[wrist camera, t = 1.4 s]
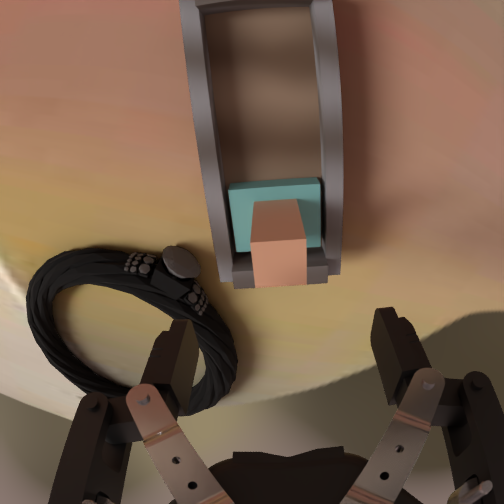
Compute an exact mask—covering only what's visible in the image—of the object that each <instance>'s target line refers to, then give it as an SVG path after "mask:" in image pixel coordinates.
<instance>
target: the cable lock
mask: <svg viewBox="0 0 504 504" xmlns="http://www.w3.org/2000/svg"><path fill="white" fill-rule="evenodd" d="M145 254H146V253H140V254H139V253H133V254H131V255H129V254H127V253H125V252H122V251H114V250H107V249H99V248H86V249H82V250H78V251H64V252H62V253H60V254H58V255H56V256H54V257H52V258H50V259H49V260H47V261H46V262H45V263H44V264H43V265H42V266H41V267H40V268H39V269H38V270H37V271H36V273H35V275H34V276H33V278H32V279H31V281H30V282H29V287H28V291H27V295H26V307H27V317H28V323H29V326H30V328H31V331H32V333H33V336H34V338H35V341H36V343H37V344H38V345H39V347H40V348H41V350H42V351H43V353H44V354H45V356H46V358H47V359H48V361H49V362H50V364H51V365H53V366H54V367H55V368H56V369H57V370H58V371H59V372H60V373H62V374H63V375H64V376H65V377H66V378H67V379H68V380H69V381H71V382H72V383H73V384H74V385H76V386H77V387H78V388H80V389H81V390H82V391H83V392H85V393H86V394H89V393H92V392H100V393H102V394H104V395H105V396H106V397H107V399H110V398H116V397H122V396H126V395H127V394H128V392H129V391H130V390H131V389H127V388H123V387H120V386H118V385H116V384H114V383H112V382H111V381H108V380H106V379H104V378H102V377H100V376H98V375H96V374H95V373H94V372H93V371H92V370H90V369H89V368H88V367H87V366H85V365H84V364H83V363H81V362H80V361H79V360H78V359H77V358H75V357H74V356H73V354H72V353H71V352H70V351H69V349H68V348H67V346H66V345H65V344H64V342H63V341H62V339H61V338H60V337H59V335H58V334H57V332H56V330H55V325H54V320H53V316H52V301H53V299H54V297H55V296H56V294H57V293H59V292H60V291H61V290H63V289H65V288H68V287H72V286H75V285H81V284H93V285H99V286H104V287H109V288H112V289H116V290H119V291H123V292H126V293H130V294H133V295H134V296H136V297H138V298H140V299H142V300H143V301H145V302H147V303H149V304H151V305H153V306H155V307H156V308H158V309H160V310H161V311H163V312H164V313H166V314H167V315H169V316H170V317H172V318H173V319H174V320H181V319H190V320H191V321H192V324H193V328H194V331H195V334H196V338H197V341H198V345H199V348H200V349H201V351H202V352H203V355H204V360H205V365H206V371H205V375H204V377H203V378H202V379H201V381H200V382H199V383H198V384H197V385H195V386H194V387H192V390H191V395H190V400H189V405H188V409H187V414H186V416H190V415H193V414H195V413H198V412H200V411H202V410H204V409H208V408H210V407H213V406H215V405H216V404H217V403H218V401H219V400H220V399H221V398H222V397H223V396H225V395H226V394H228V393H229V391H230V388H231V385H232V383H233V382H234V381H235V379H236V371H237V363H238V359H237V355H236V350H235V347H234V341H233V338H232V336H231V333H230V330H229V329H228V327H227V326H226V324H225V323H224V321H223V320H222V318H221V317H220V315H219V314H218V313H217V311H216V310H215V309H214V308H213V306H212V305H211V304H210V303H209V302H208V298H207V295H206V294H205V293H204V290H203V289H202V288H201V287H200V285H199V283H198V282H197V281H196V280H194V277H198V275H199V274H200V273H201V268H200V264H199V263H198V261H197V260H196V258H195V257H194V256H193V255H192V254H191V253H190V252H189V251H187V250H185V249H183V248H180V247H177V246H167V247H166V248H165V249H164V250H163V255H162V256H161V258H160V260H159V262H158V264H157V265H155V264H154V263H155V261H156V258H157V257H156V256H155V255H151V254H147V255H145ZM199 287H200V288H199ZM178 416H180V415H178Z"/></svg>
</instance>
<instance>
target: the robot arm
mask: <svg viewBox="0 0 504 504" xmlns="http://www.w3.org/2000/svg"><path fill="white" fill-rule="evenodd" d="M370 338H371V347H372V350H373V353H374V357H375V360H376V363H377V367H378V370H379V373H380V376H381V380H382V384H383V387H384V391H385V394H386V398H387V402H388V405H394V404H397V408H398V410H397V412H396V413H395V415H394V417H393V419H392V421H391V423H390V425H389V426H388V428H387V430H386V432H385V434H384V436H383V437H382V439H381V441H380V443H379V444H378V446H377V448H376V450H375V451H374V453H373V455H372V456H371V458H370V460H367V459H365V458H363V457H361V456H359V455H355V454H351V453H345V452H344V448H343V446H339V447H331V448H321V449H315V450H312V451H309V452H305V453H302V454H298V455H295V456H291V457H284V456H279V455H273V454H268V453H263V452H233V458H231V459H227V460H224V461H221V462H219V463H216V464H215V465H213V466H211V467H210V468H207V467H206V465H205V464H204V462H203V461H202V459H201V458H200V457H199V455H198V454H197V452H196V451H195V449H194V448H193V446H192V445H191V444H190V442H189V441H188V439H187V437H186V436H185V435H184V433H183V431H182V430H181V428H180V426H179V425H178V424H177V418H178V415H180V416H186V414H187V409H188V405H189V400H190V395H191V390H192V385H193V380H194V376H195V371H196V366H197V362H198V357H199V345H198V341H197V338H196V334H195V331H194V328H193V324H192V321H191V320H190V319H181V320H173V321H172V324H171V327H170V330H169V331H162V333H161V334H160V335H159V336H158V337H157V338H156V340H155V342H154V345H153V348H152V351H151V353H150V357H149V359H148V362H147V365H146V367H145V370H144V373H143V376H142V379H141V382H140V384H139V385H137V386H135V387H133V388H132V389H131V390H130V391H129V392H128V394H127V395H126V396H122V397H116V398H110V399H107V397H106V396H105V395H104V394H102V393H100V392H92V393H89V394H87V395H85V396H84V397H83V398H82V399H81V401H80V403H79V406H78V408H77V411H76V414H75V417H74V420H73V422H72V425H71V428H70V432H69V434H68V437H67V440H66V443H65V446H64V450H63V453H62V456H61V459H60V463H59V466H58V469H57V472H56V476H55V479H54V483H53V487H52V490H51V494H50V498H49V502H48V504H120V503H121V497H122V492H123V487H124V481H125V476H126V471H127V466H128V461H129V456H130V451H131V446H132V442H136V441H141V440H144V441H143V443H144V445H145V448H146V449H147V451H148V453H149V455H150V457H151V459H152V461H153V462H154V464H155V466H156V468H157V470H158V471H159V473H160V475H161V477H162V478H163V480H164V482H165V484H166V485H167V487H168V489H169V490H170V492H171V494H172V495H173V497H174V498H175V499H174V500H172V501H171V502H170V503H169V504H423V503H421V502H420V501H418V499H416V498H415V497H414V496H412V495H411V494H410V493H408V492H407V491H406V490H405V489H403V488H402V487H403V486H404V484H405V482H406V480H407V478H408V476H409V474H410V472H411V470H412V468H413V466H414V464H415V462H416V460H417V458H418V456H419V454H420V452H421V450H422V447H423V445H424V443H425V441H426V439H427V436H428V434H429V431H430V428H431V426H441V427H442V431H443V435H444V439H445V443H446V448H447V452H448V456H449V461H450V466H451V471H452V476H453V481H454V486H455V491H454V492H453V493H452V494H451V495H450V496H449V498H448V501H447V504H504V414H503V411H502V408H501V406H500V403H499V400H498V398H497V396H496V393H495V391H494V388H493V386H492V384H491V381H490V379H489V378H488V377H487V376H486V375H485V374H484V373H482V372H477V371H473V372H470V373H468V374H467V375H466V376H465V377H464V379H449V378H444V377H443V375H442V374H441V373H440V372H439V371H438V370H436V369H433V368H432V367H431V365H430V363H429V360H428V358H427V356H426V353H425V351H424V349H423V347H422V344H421V342H419V338H418V336H417V335H416V331H415V329H414V327H413V325H412V324H411V323H410V322H409V321H408V320H407V319H406V318H405V317H400V318H398V316H397V314H396V312H395V309H394V308H393V307H385V308H377V309H376V310H375V314H374V319H373V325H372V330H371V337H370Z"/></svg>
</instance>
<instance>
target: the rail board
mask: <svg viewBox="0 0 504 504" xmlns="http://www.w3.org/2000/svg"><path fill="white" fill-rule="evenodd" d="M179 6H180V15H181V25H182V34H183V42H184V51H185V59H186V67H187V75H188V83H189V91H190V98H191V105H192V112H193V120H194V126H195V133H196V140H197V147H198V153H199V160H200V166H201V173H202V179H203V185H204V191H205V197H206V203H207V209H208V215H209V221H210V227H211V232H212V238H213V244H214V249H215V255H216V260H217V266H218V271H219V276H220V282H233V284H234V289H243V288H255V280H254V272H253V263H252V255H251V251H248V252H237V251H236V244H235V237H234V230H233V222H232V215H231V208H230V201H229V193H228V189H229V186H230V183H239V182H251V181H264V180H277V179H293V178H311V177H317V179H318V181H319V183H320V210H321V246H320V247H308V248H307V284H321V283H327V282H328V275H340V268H341V250H342V226H343V125H342V102H341V85H340V71H339V59H338V48H337V38H336V29H335V20H334V12H333V4H332V0H179Z"/></svg>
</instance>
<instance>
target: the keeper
mask: <svg viewBox="0 0 504 504" xmlns="http://www.w3.org/2000/svg"><path fill="white" fill-rule="evenodd" d="M228 193H229V201H230V208H231V215H232V222H233V230H234V237H235V244H236V251H237V252H248V251H251V255H252V263H253V272H254V280H255V288H261V287H277V286H293V285H307V248H308V247H320V246H321V210H320V183H319V181H318V179H317V177H311V178H293V179H277V180H264V181H251V182H239V183H230V186H229V189H228Z"/></svg>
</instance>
